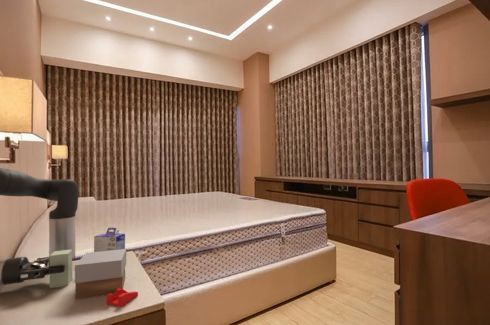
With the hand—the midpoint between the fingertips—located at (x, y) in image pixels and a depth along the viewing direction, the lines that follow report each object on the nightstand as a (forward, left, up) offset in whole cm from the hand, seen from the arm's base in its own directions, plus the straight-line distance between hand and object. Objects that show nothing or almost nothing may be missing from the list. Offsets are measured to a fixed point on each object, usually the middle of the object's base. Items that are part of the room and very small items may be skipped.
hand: (68, 263), depth 86 cm
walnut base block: (+9, +11, -6) cm, 16 cm away
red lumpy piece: (+20, +18, -7) cm, 28 cm away
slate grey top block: (+9, +11, -1) cm, 15 cm away
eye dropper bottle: (-20, +13, -6) cm, 25 cm away
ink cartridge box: (-10, +11, -6) cm, 16 cm away
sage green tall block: (0, -2, -6) cm, 6 cm away
